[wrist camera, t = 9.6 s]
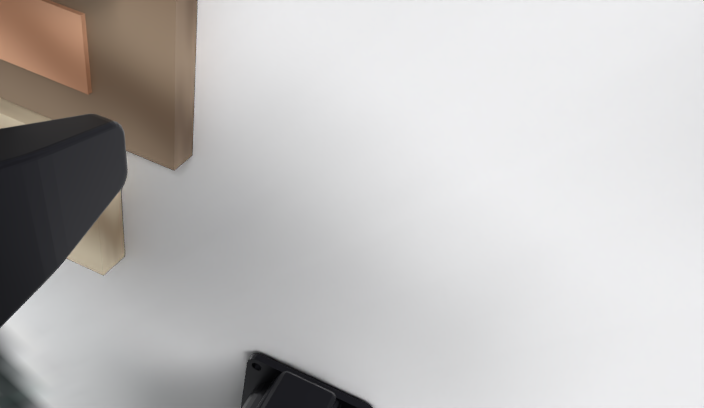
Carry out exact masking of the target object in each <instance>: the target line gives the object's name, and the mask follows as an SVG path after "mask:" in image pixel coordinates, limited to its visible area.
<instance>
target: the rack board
mask: <svg viewBox="0 0 704 408" xmlns="http://www.w3.org/2000/svg"><path fill="white" fill-rule="evenodd" d="M196 25H197V0H0V98H2V99H5V100H7V101H10V102H12V103H14V104H17V105H19V106H21V107H24V108H26V109H29V110H31V111H33V112H36V113H38V114H40V115H43V116H45V117H48V118H50V119H52V120H55V119H61V118H67V117H73V116H79V115H85V114H97V115H101V116H103V117H106V118H108V119H111V120H113V121H116V122H118V123H119V124H120V125H121V126H122V128H123V130H124V133H125V145H126V151H129V152H131V153H133V154H136V155H138V156H141V157H143V158H145V159H148V160H150V161H152V162H155V163H157V164H160V165H162V166H164V167H167V168H169V169H172V170H176V169H177V168H178V167H179V166H180V165H182V164H183V163H184V162H185V161H186V160H188V159H189V158H190V157H191V156H192V149H193V118H194V87H195V56H196Z"/></svg>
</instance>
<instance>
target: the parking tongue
mask: <svg viewBox="0 0 704 408" xmlns="http://www.w3.org/2000/svg"><path fill="white" fill-rule="evenodd" d="M49 120H52V119H50V118H48V117H45V116H43V115H40V114H38V113H36V112H33V111H31V110H29V109H26V108H24V107H21V106H19V105H17V104H14V103H12V102H10V101H7V100H5V99H2V98H0V129H1V128H7V127H13V126H19V125H25V124H31V123H37V122H43V121H49ZM123 257H125V249H124V233H123V217H122V201H121V190H120V191H119V193H118V194H117V195H116V196H115V198H114V199H113V200H112V202H111V203H110V204H109V205H108V207H107V208H106V209H105V210H104V212H103V213H102V214H101V215H100V217H99V218H98V219H97V220H96V222H95V223H94V224H93V226H92V227H91V228H90V229H89V231H88V232H87V233H86V234H85V236H84V237H83V238H82V239H81V241H80V242H79V243H78V244H77V246H76V247H75V248H74V250H73V251H72V252H71V253H70V255H69V256H68V257H67V259H69V260H71V261H73V262H75V263H77V264H80V265H82V266H84V267H86V268H88V269H90V270H92V271H95V272H97V273H99V274H101V275H103V276H104V275H105V274H106V273H107V272H108V271H109V270H110V269H112V268H113V267H114V266H115V265H116V264H117V263H118V262H119V261H120V260H121V259H122V258H123Z"/></svg>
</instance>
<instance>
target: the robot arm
mask: <svg viewBox="0 0 704 408" xmlns="http://www.w3.org/2000/svg"><path fill="white" fill-rule="evenodd" d="M126 178H127V158H126V145H125V133H124V130H123V128H122V126H121V125H120V124H119V123H118V122H116V121H113V120H111V119H108V118H106V117H103V116H101V115H97V114H85V115H79V116H73V117H67V118H61V119H55V120H49V121H43V122H37V123H31V124H25V125H19V126H13V127H7V128H1V129H0V328H1V327H2V326H3V324H4V323H5V322H6V321H7V320H8V319H9V318H10V317H11V316H12V315H13V314H14V313H15V312H16V311H17V310H18V309H19V308H20V307H21V306H22V305H23V304H24V303H25V302H26V301H27V300H28V299H29V298H30V297H31V296H32V295H33V294H34V293H35V292H36V291H37V290H38V289H39V288H40V287H41V286H42V285H43V284H44V283H45V282H46V281H47V279H48V278H49V277H50V276H51V275H52V274H53V273H54V272H55V271H56V270H57V269H58V268H59V266H60V265H61V264H62V263H63V262H64V260H65V259H66V258H67V257H68V256H69V255H70V253H71V252H72V251H73V250H74V248H75V247H76V246H77V244H78V243H79V242H80V241H81V239H82V238H83V237H84V236H85V234H86V233H87V232H88V231H89V229H90V228H91V227H92V226H93V224H94V223H95V222H96V220H97V219H98V218H99V217H100V215H101V214H102V213H103V212H104V210H105V209H106V208H107V207H108V205H109V204H110V203H111V202H112V200H113V199H114V198H115V196H116V195H117V194H118V193H119V191H120V190H121V189H122V187H123V185H124V183H125V181H126ZM241 408H372V407H371V406H370V405H368V404H367V403H365V402H362V401H360V400H358V399H356V398H354V397H352V396H350V395H347V394H345V393H343V392H341V391H339V390H337V389H335V388H333V387H330V386H328V385H326V384H324V383H322V382H320V381H318V380H315V379H313V378H311V377H309V376H307V375H305V374H303V373H300V372H298V371H296V370H294V369H292V368H290V367H288V366H285V365H283V364H281V363H279V362H277V361H275V360H273V359H270V358H268V357H266V356H264V355H262V354H259V353H254V354H252V356H251V357H250V359H249V360H248V362H247V368H246V376H245V383H244V390H243V397H242V404H241Z"/></svg>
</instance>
